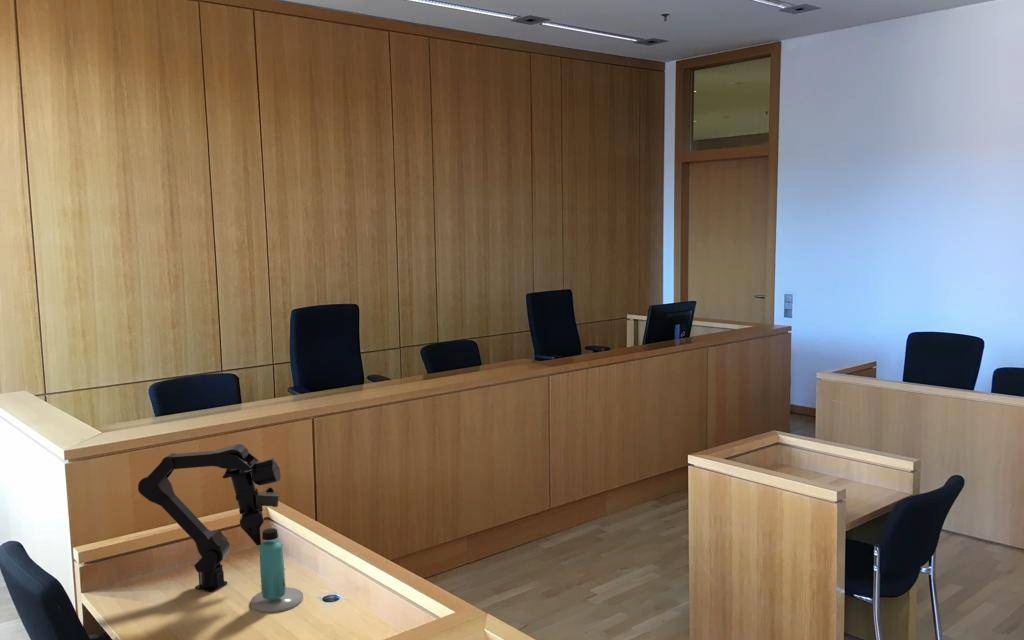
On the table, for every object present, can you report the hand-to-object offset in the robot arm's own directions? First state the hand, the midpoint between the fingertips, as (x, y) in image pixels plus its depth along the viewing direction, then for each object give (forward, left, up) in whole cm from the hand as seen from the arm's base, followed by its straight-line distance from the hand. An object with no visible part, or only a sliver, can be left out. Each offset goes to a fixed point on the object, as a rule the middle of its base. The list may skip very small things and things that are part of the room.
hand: (258, 540), depth 237 cm
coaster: (+11, -6, -14) cm, 19 cm away
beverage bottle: (+11, -7, -13) cm, 18 cm away
